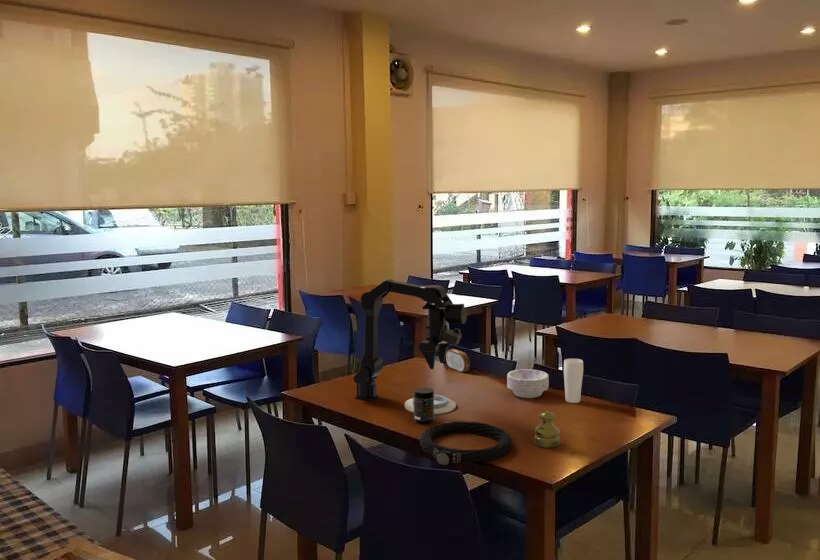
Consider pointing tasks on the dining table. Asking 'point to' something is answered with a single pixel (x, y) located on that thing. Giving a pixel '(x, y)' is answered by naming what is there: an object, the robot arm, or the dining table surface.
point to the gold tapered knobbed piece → (547, 431)
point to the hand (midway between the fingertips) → (436, 366)
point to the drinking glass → (573, 379)
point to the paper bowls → (527, 382)
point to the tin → (457, 360)
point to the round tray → (436, 411)
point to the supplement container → (423, 405)
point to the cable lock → (458, 455)
